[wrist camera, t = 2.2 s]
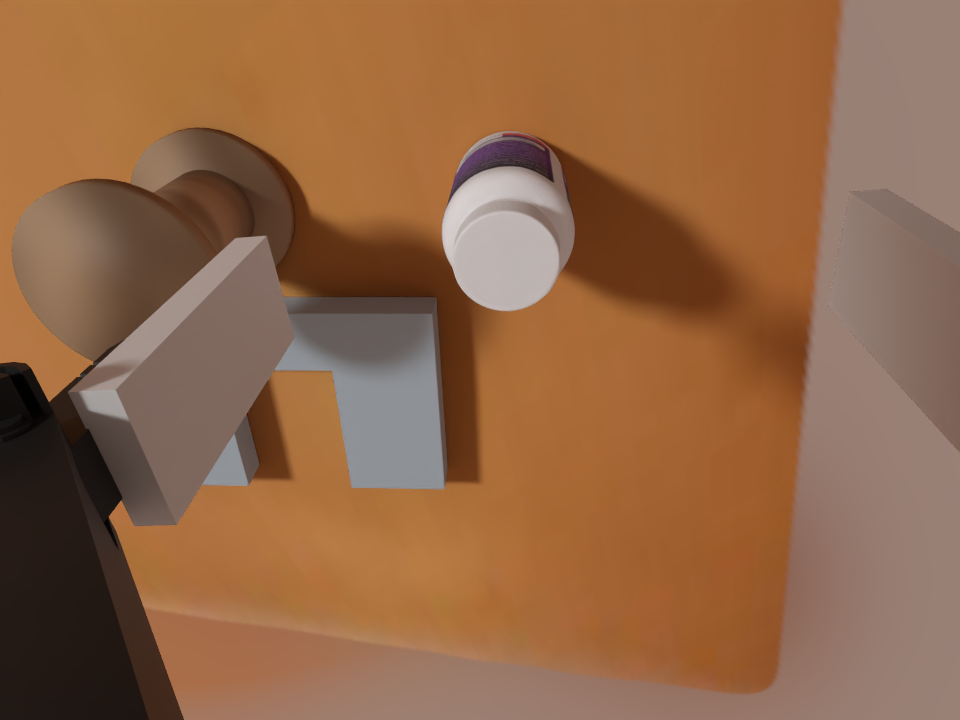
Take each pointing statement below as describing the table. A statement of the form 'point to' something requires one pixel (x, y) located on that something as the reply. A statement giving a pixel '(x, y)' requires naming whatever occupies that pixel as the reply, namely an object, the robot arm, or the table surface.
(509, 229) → the pill bottle
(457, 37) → the table surface
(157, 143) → the bobbin
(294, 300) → the notched board
